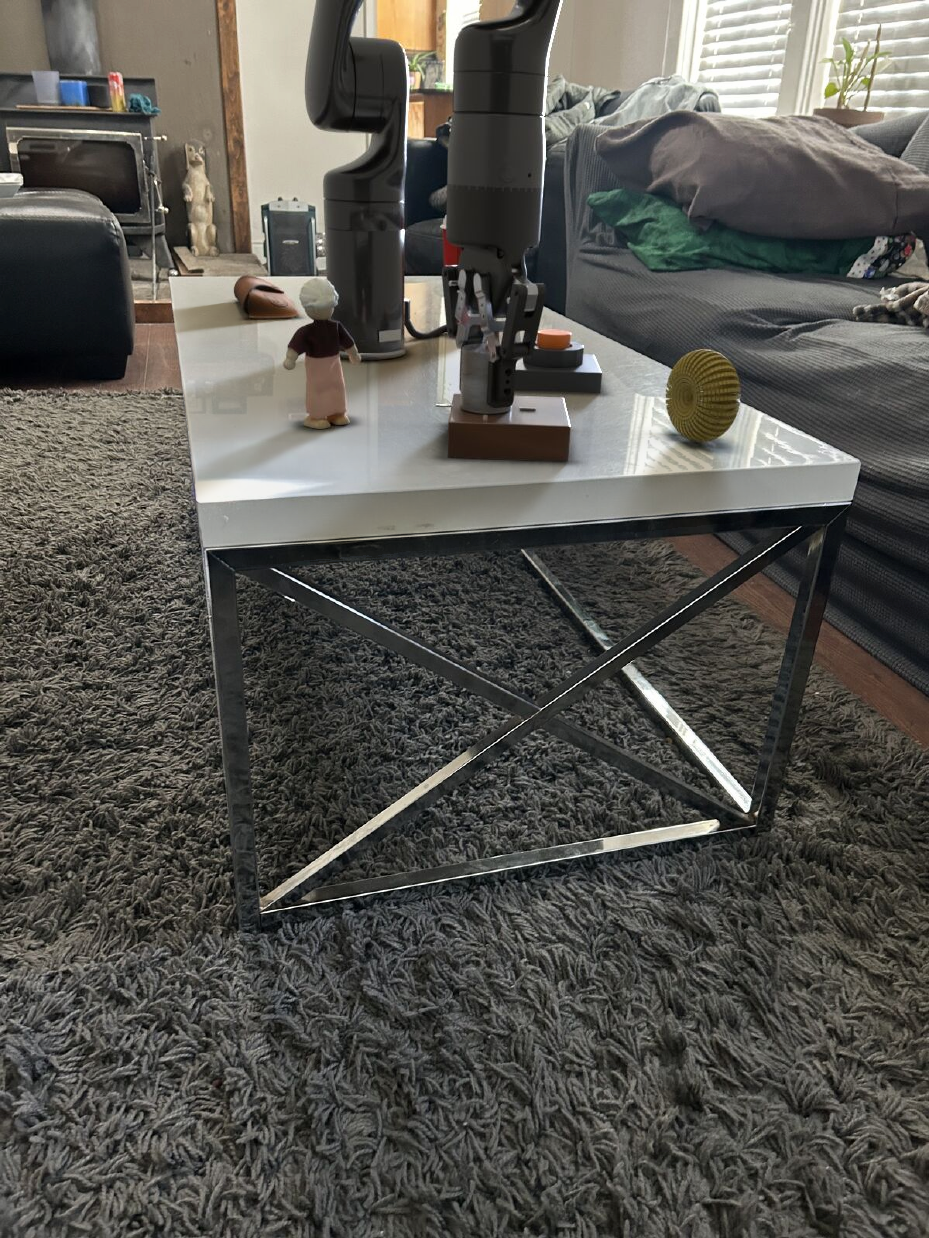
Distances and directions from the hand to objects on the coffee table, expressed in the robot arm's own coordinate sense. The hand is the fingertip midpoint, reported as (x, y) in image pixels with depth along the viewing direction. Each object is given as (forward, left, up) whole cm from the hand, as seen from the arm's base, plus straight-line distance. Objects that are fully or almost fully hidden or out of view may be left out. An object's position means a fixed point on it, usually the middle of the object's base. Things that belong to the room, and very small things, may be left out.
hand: (485, 398), depth 82 cm
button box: (-25, +7, -4) cm, 26 cm away
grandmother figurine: (-4, -15, -4) cm, 16 cm away
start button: (-25, +7, 0) cm, 26 cm away
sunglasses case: (-68, -34, -4) cm, 76 cm away
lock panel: (0, +2, -4) cm, 4 cm away
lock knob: (0, 0, -1) cm, 1 cm away
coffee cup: (-52, -3, -4) cm, 52 cm away
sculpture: (-3, +19, -4) cm, 20 cm away
